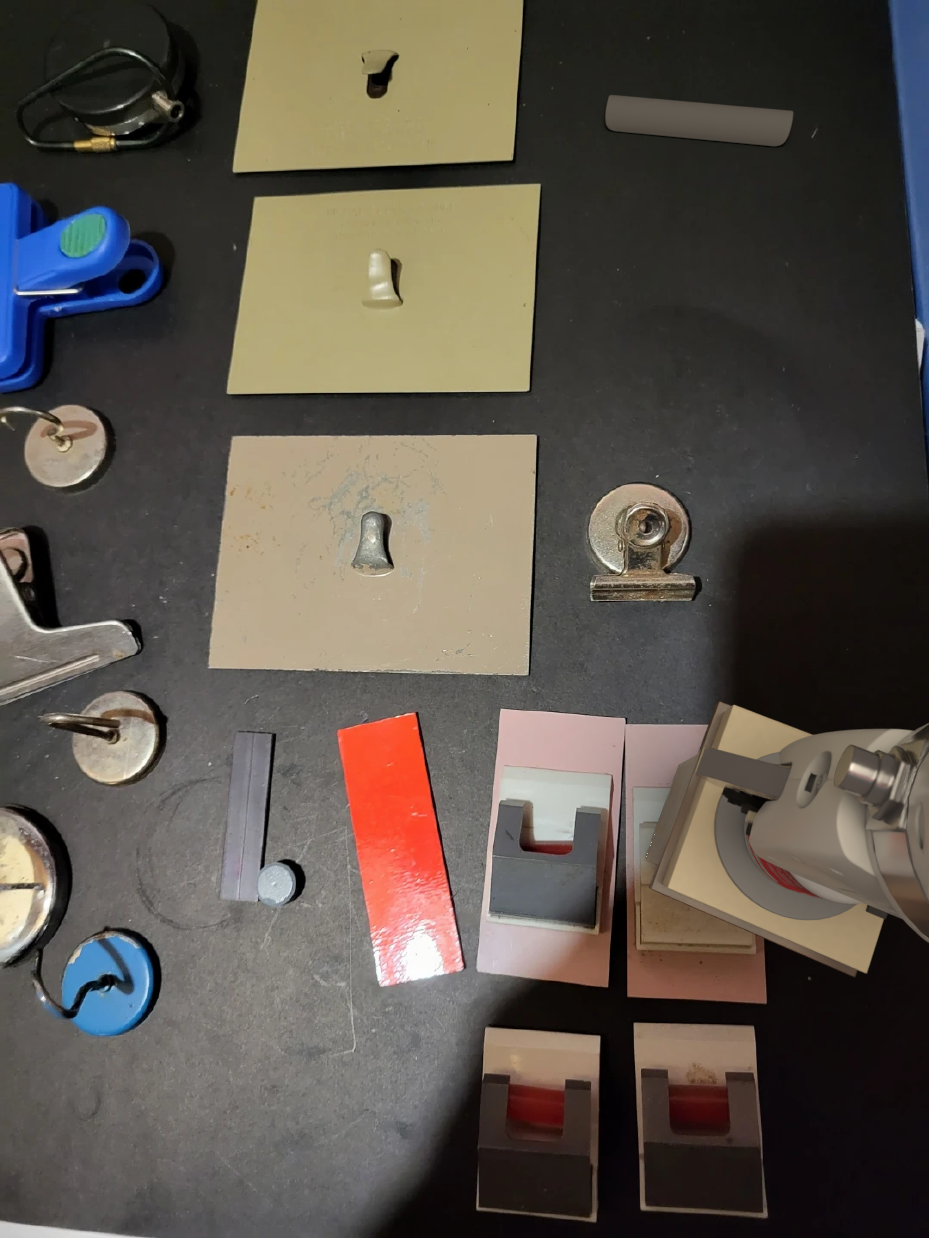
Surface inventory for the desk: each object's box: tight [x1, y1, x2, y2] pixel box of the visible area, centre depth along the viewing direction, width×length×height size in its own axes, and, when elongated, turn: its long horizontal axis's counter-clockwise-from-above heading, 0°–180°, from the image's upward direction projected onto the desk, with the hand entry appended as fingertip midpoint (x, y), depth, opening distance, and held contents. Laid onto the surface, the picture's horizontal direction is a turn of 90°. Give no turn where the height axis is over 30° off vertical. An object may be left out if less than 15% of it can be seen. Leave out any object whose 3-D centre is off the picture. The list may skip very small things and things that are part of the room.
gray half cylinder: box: [604, 94, 794, 147], centre depth 93 cm, size 4×20×2 cm, turn 77°
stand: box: [644, 700, 858, 978], centre depth 64 cm, size 12×12×27 cm
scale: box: [662, 704, 889, 974], centre depth 49 cm, size 11×11×4 cm
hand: (833, 834), depth 41 cm, fingers closed on pill bottle, 6 cm apart
